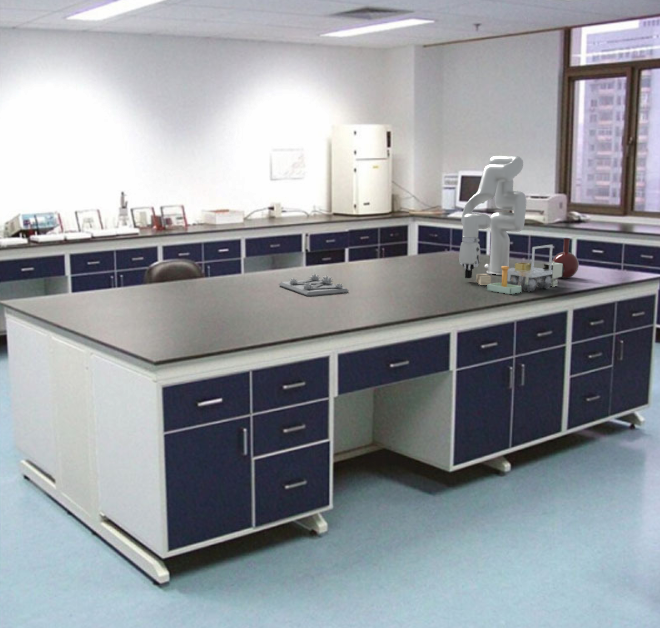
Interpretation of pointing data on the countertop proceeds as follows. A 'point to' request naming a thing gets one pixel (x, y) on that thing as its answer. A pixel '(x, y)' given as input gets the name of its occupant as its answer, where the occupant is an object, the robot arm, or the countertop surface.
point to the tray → (504, 288)
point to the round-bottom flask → (567, 260)
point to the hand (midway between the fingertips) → (468, 277)
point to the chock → (483, 279)
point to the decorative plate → (314, 286)
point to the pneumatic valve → (555, 272)
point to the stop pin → (504, 275)
